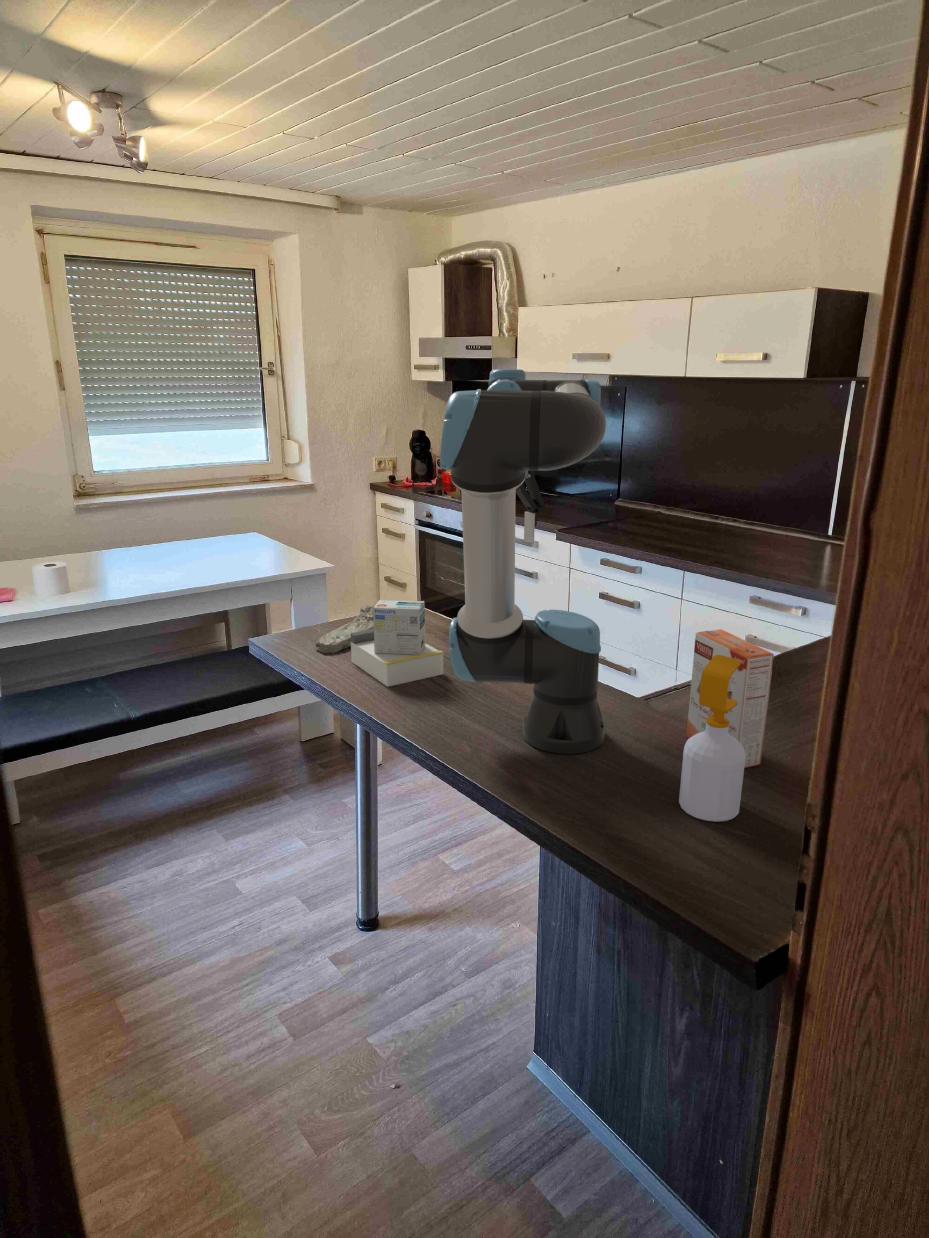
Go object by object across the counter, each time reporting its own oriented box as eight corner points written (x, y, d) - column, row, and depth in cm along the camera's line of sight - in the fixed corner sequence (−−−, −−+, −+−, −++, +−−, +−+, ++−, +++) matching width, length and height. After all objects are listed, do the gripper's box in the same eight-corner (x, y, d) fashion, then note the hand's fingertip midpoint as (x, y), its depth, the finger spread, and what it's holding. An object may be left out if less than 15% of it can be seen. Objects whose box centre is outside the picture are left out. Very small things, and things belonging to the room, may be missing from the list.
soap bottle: (748, 806, 126) (766, 659, 119) (723, 830, 120) (740, 675, 113) (695, 787, 132) (709, 645, 125) (668, 808, 126) (681, 660, 118)
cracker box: (683, 738, 150) (693, 631, 143) (710, 733, 152) (722, 627, 145) (732, 772, 137) (746, 656, 131) (761, 766, 139) (776, 652, 133)
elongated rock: (305, 656, 196) (339, 664, 192) (304, 636, 194) (338, 644, 190) (381, 611, 225) (412, 618, 221) (381, 593, 223) (412, 600, 219)
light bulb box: (426, 645, 183) (425, 600, 180) (421, 656, 177) (420, 608, 174) (379, 644, 184) (378, 598, 181) (373, 654, 178) (372, 607, 175)
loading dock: (443, 674, 180) (443, 644, 178) (387, 686, 173) (386, 656, 171) (404, 651, 195) (404, 623, 193) (351, 661, 187) (350, 633, 185)
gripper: (541, 442, 179) (538, 536, 185) (446, 447, 166) (446, 548, 172) (563, 444, 173) (559, 541, 179) (467, 450, 160) (466, 555, 166)
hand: (504, 545), depth 176 cm, fingers open, 13 cm apart
